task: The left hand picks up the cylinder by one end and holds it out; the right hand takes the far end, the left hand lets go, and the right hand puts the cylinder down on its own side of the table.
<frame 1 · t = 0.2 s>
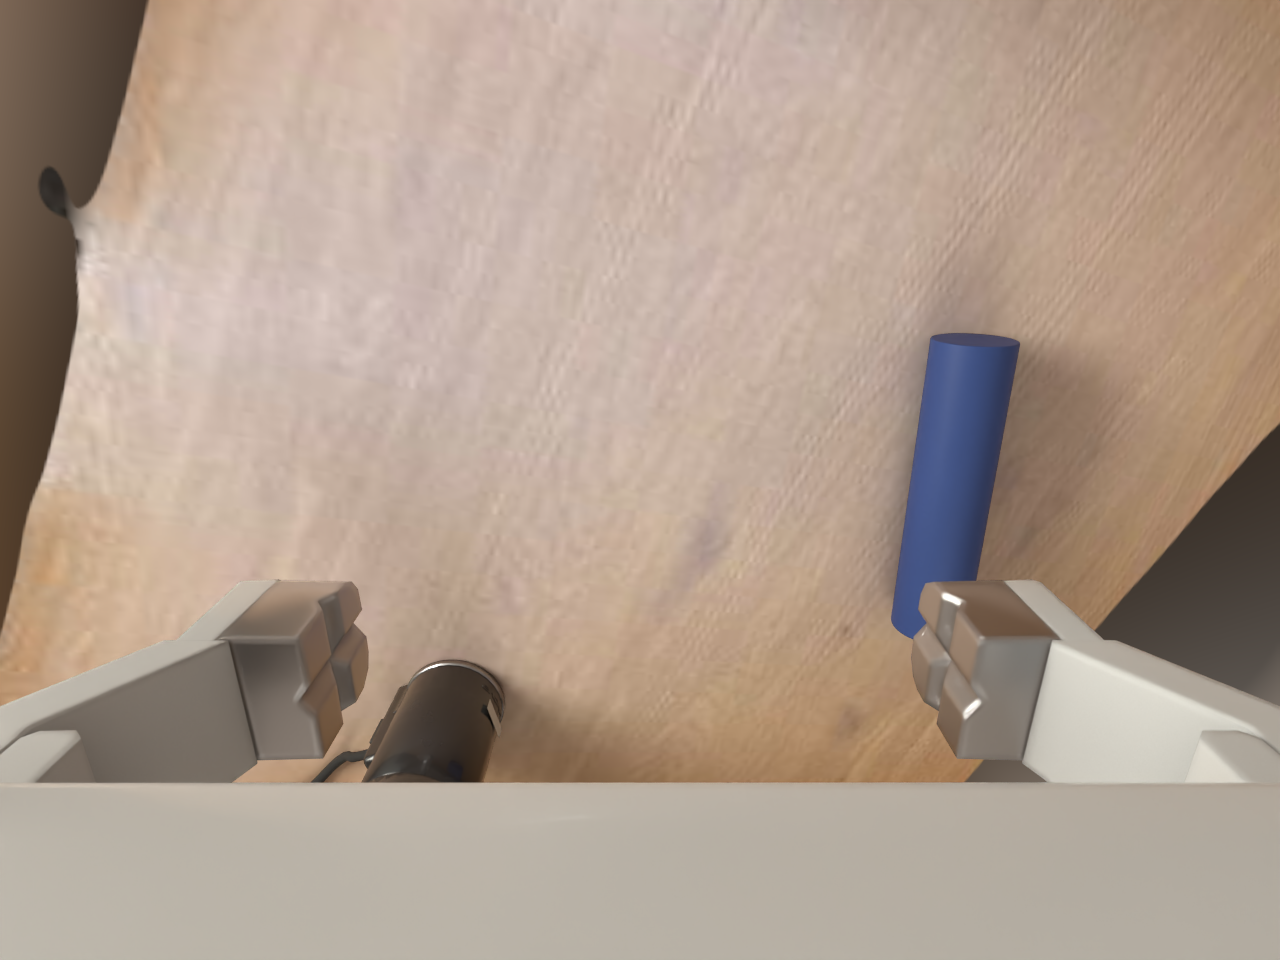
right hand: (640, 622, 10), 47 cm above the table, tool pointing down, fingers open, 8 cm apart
cylinder: (934, 480, 60), on the table
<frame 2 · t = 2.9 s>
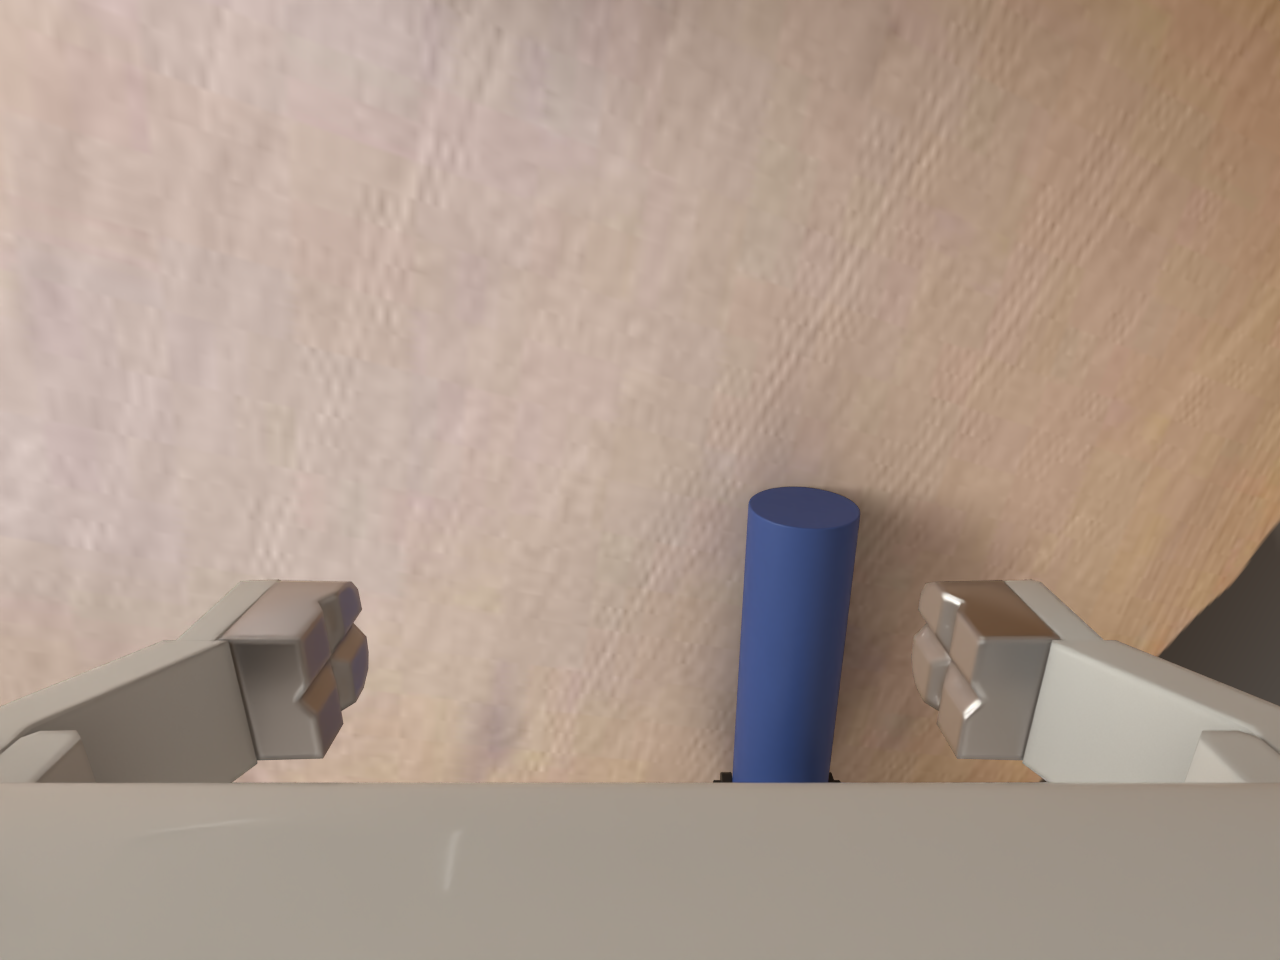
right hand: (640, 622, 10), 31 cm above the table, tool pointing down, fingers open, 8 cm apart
cylinder: (778, 660, 47), on the table, touching left hand
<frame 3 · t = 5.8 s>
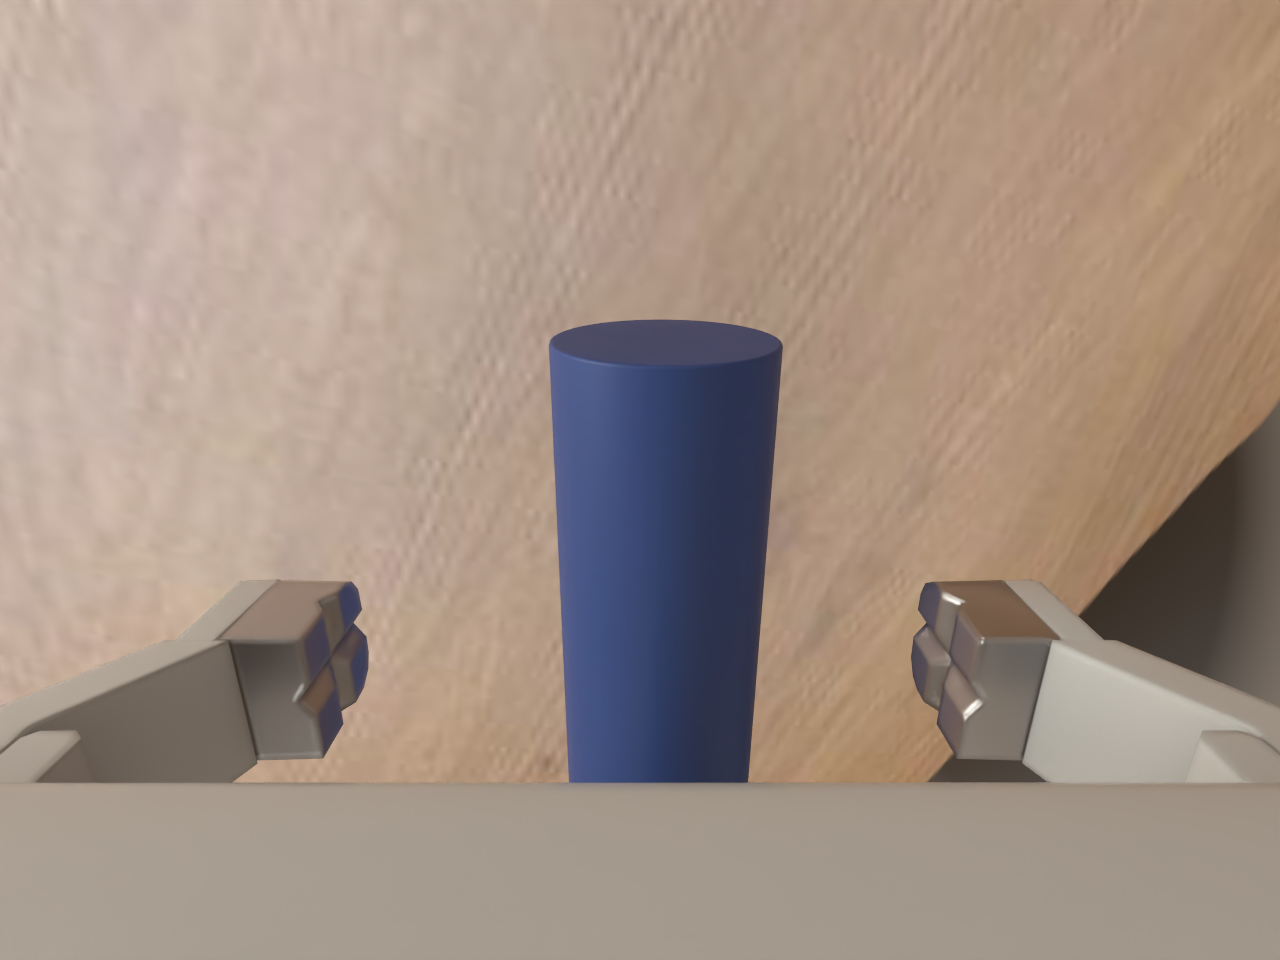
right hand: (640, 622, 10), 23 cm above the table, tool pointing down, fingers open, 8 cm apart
cylinder: (656, 656, 26), point 10 cm above the table, touching left hand
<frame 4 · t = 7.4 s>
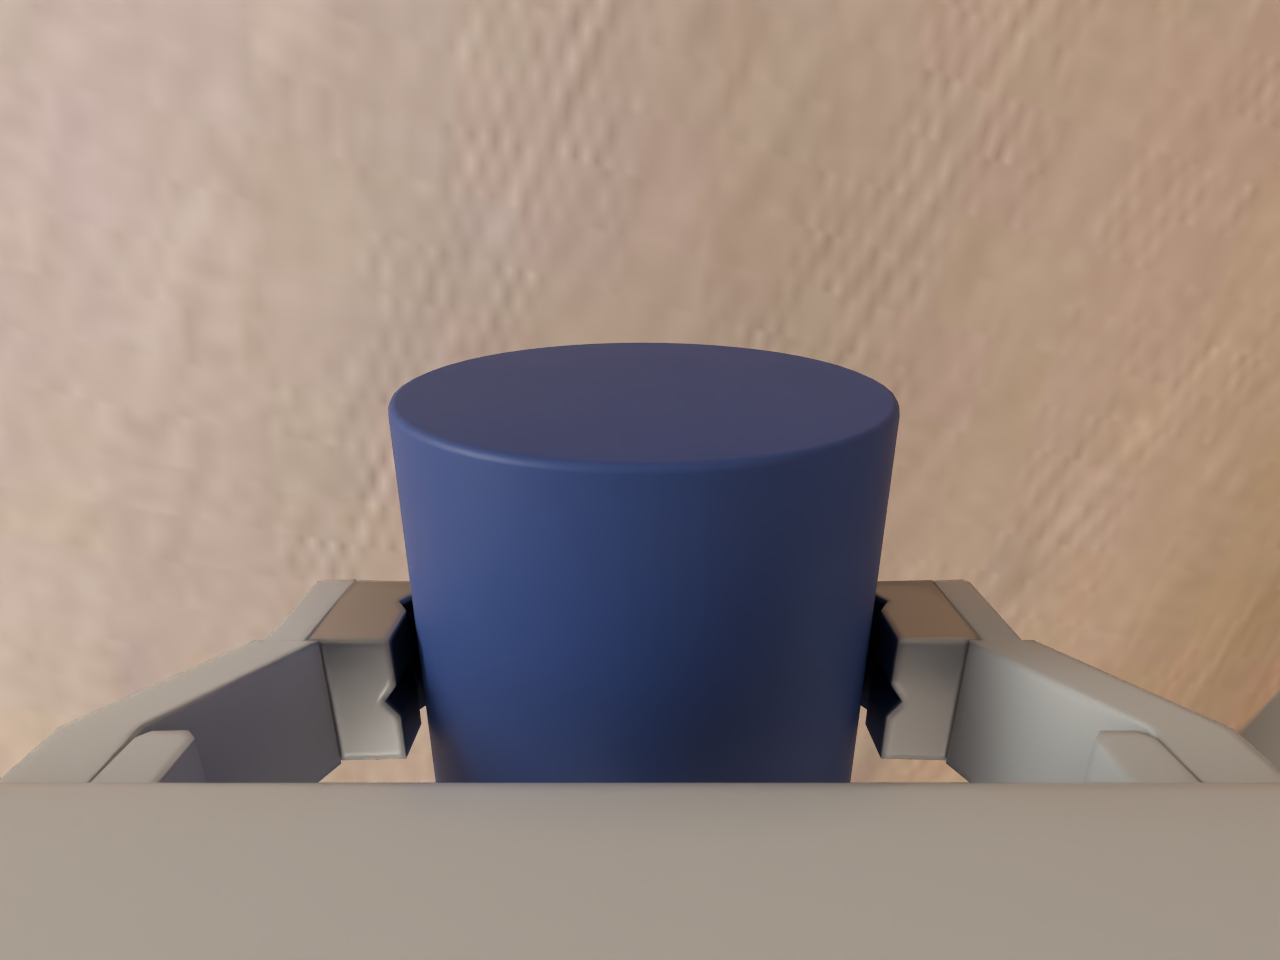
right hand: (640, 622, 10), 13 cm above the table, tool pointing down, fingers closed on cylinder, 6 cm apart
cylinder: (641, 887, 16), point 10 cm above the table, touching right hand, left hand
when the left hand's fingers open (12 cm above the table, at t = 8.7 s): cylinder moves 1 cm, held by the right hand.
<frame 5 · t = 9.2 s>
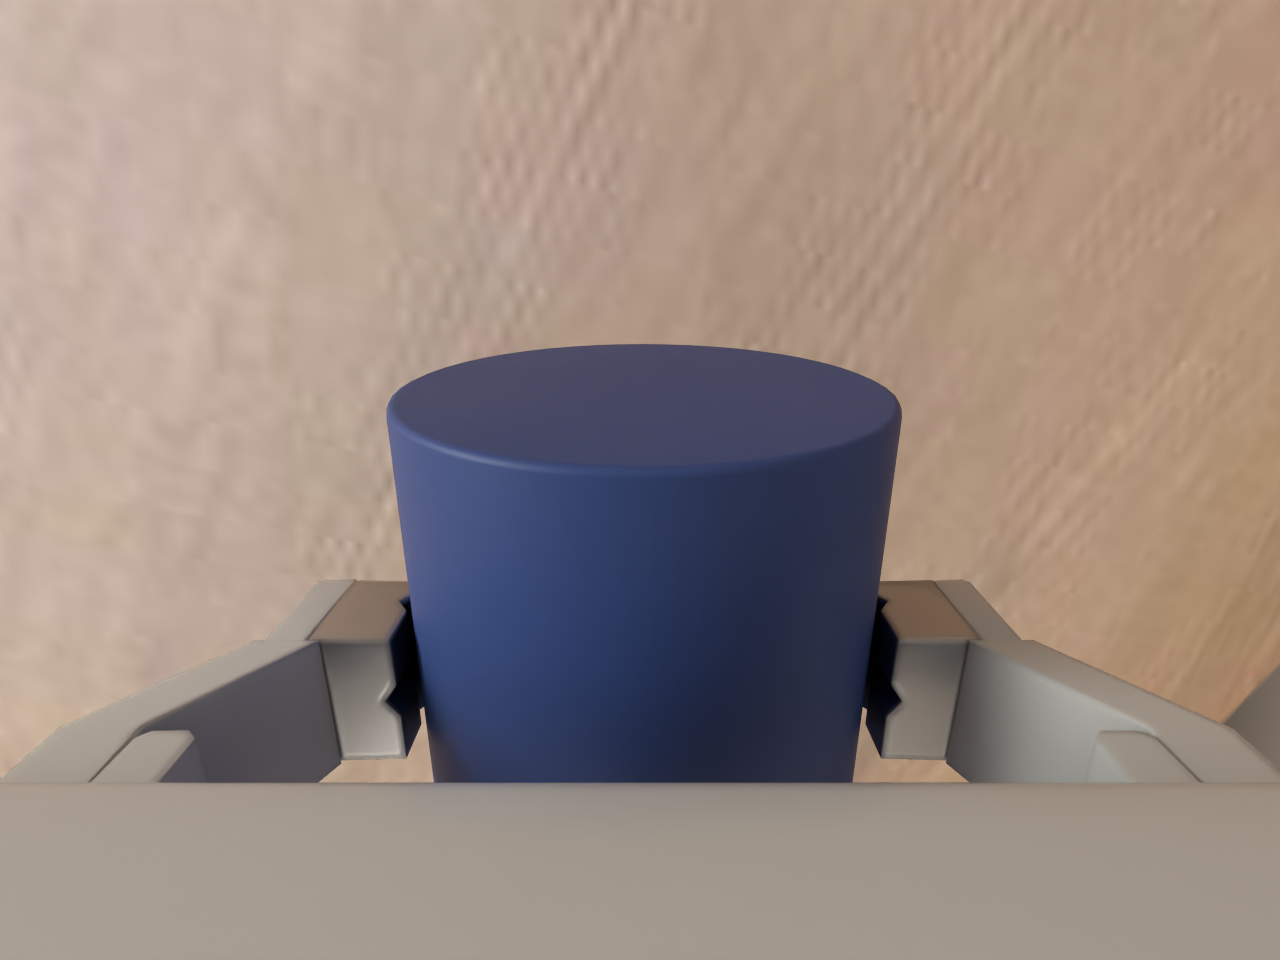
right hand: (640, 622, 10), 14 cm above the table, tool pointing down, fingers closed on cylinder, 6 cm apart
cylinder: (641, 891, 16), point 11 cm above the table, touching right hand
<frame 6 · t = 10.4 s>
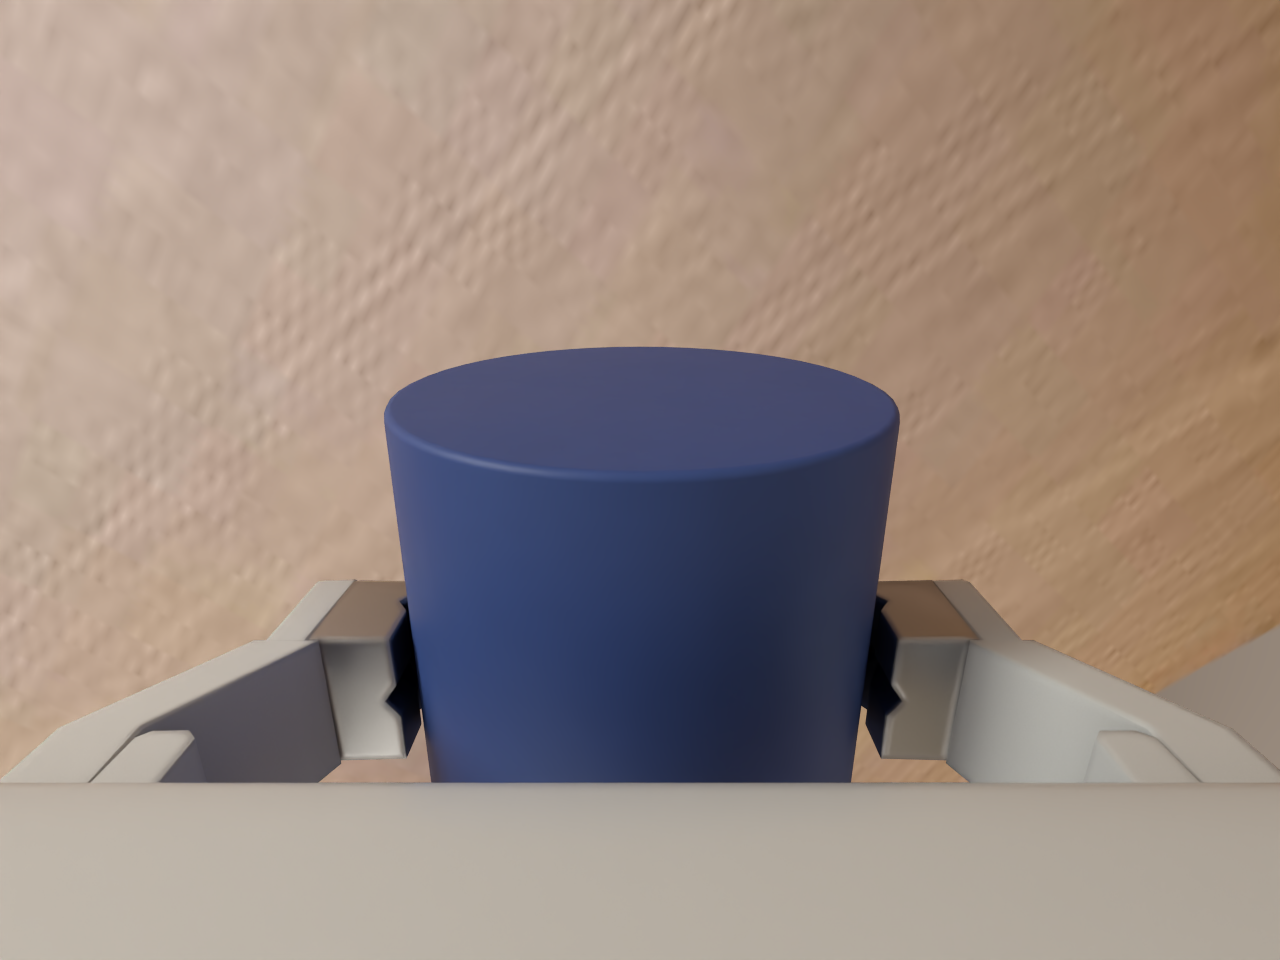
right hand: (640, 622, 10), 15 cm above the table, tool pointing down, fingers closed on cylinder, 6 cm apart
cylinder: (639, 893, 16), point 13 cm above the table, touching right hand
when the right hand's fingers open (4 cm above the table, at t = 13.3 s): cylinder drops 1 cm, on the table.
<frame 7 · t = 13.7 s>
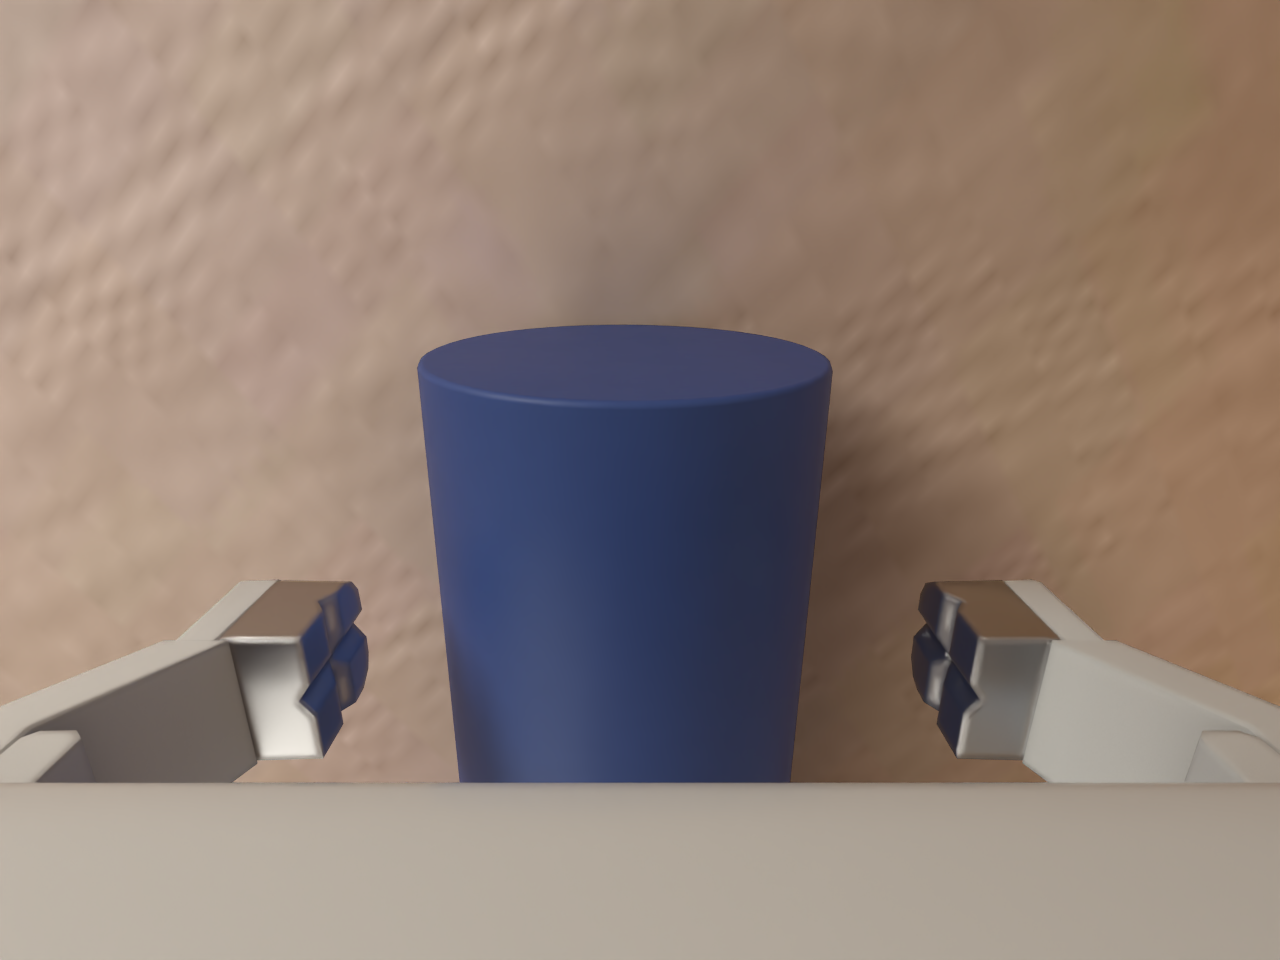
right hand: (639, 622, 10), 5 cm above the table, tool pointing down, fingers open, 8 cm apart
cylinder: (627, 819, 18), on the table
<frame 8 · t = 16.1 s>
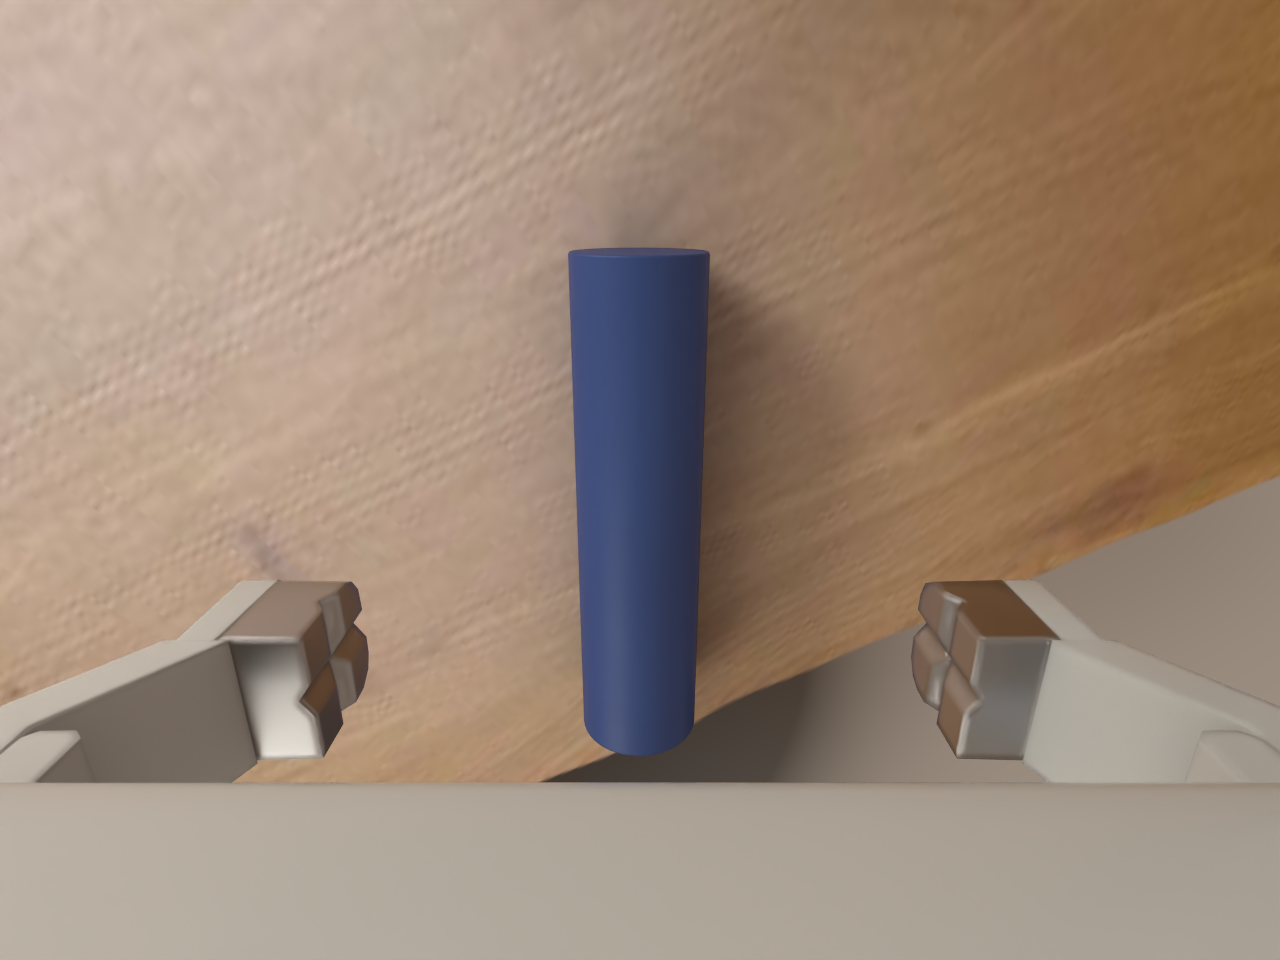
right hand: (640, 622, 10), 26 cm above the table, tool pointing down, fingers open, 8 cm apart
cylinder: (639, 490, 38), on the table
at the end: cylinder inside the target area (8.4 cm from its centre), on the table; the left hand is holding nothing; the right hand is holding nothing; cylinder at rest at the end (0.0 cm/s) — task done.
